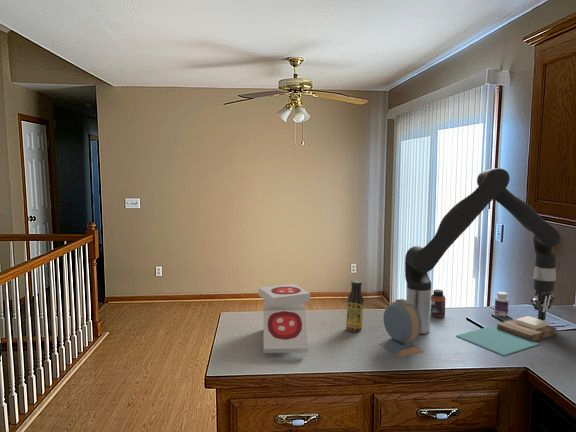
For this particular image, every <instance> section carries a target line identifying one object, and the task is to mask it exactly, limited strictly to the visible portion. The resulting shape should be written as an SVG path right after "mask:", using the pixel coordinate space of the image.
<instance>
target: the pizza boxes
mask: <svg viewBox="0 0 576 432" xmlns="http://www.w3.org/2000/svg"><path fill="white" fill-rule="evenodd" d="M258 296H259V297H260V298H261V299H263V354H291V353H293V354H298V353H299V354H301V353H302V354H303V353H308V351H309V350H308V349H309V348H308V347H309V346H308V335H307V334H308V331H307V322H306V320H307V319H306V309H305V308H306V307H305V305H306V303H310V302H311V293H310V292H309V291H307V290H305V289H304V288H302V287H301V286H298V285H297V284H295V283H287V284H278V285H270V286H261V287H258Z"/></svg>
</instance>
